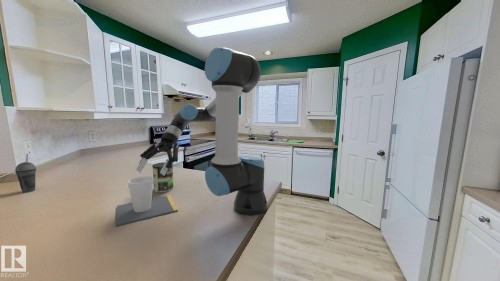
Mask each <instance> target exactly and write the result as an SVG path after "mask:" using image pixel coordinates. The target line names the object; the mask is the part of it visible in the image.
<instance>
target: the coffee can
mask: <svg viewBox="0 0 500 281" xmlns="http://www.w3.org/2000/svg"><path fill="white" fill-rule="evenodd" d="M165 162H166V161H165ZM165 162H158V163H154V164H152V177H153V183H154V184H153V192H155V193H168V192H170V191H172V190H173V189H174V188H175V186H174V170H173V169H174V167H173V166H174V162H173V163H172V165H171V167H170V168H168V170H167V172H166V174H165V176H164V175H162V174H161V173H160V171H161V169H162V168H163V166H164V164H165Z"/></svg>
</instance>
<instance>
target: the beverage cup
mask: <svg viewBox="0 0 500 281" xmlns="http://www.w3.org/2000/svg"><path fill="white" fill-rule="evenodd" d="M25 157H26V160H25V161H24V162H20V163H18V164H17V165H16V167H15V169H14V170H15V171H14V172H15V174H16V176H17V179H18V183H19V186H20V190H21V191H22V193H23V194H25V193H31V192H35V191H36V171H37V167H36V165H35V164H34V163H32V162H29V161H28V157H29V153H26V156H25Z"/></svg>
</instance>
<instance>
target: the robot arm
mask: <svg viewBox="0 0 500 281" xmlns="http://www.w3.org/2000/svg"><path fill="white" fill-rule="evenodd" d="M261 70H262V69H261V66H260V63H259V62H258V60H257V59H256V58H255V57H254V56H252V55H250V54H246V53H243V52H240V51H237V50H234V49H232V48H229V47H222V46H216V47H214V48H213V49H212V50H211V51H210V52H209V54H208V56H207V57H206V60H205V65H204V74H205V76H206V79H207V80H209V82H211V89H213V91H214V92H215V98H214V99H213V100H212V101H211V102H210V103H209V104H208V105H207V106H206V107H197V106H196V105H194V104H192V103H186V104H184V105H183V106H182V107H181V108H180V110H179V111H177V113H175V115H174V116H173V119H172V120H171V122H170V124H169V125H168V127H167V128H166V129H165V131H164V133H163V134H162V136H161V138H160V142H157V141H154V142H153V143H152V145H151V146H149V147H148V148H147V149H146V150H144V151H143V152H142V153H141V154H140V155H139V157H140V158H141V159H140V161H139V163H138V165H137V166H136V169H135V170H136V172H138V173H139V174H141V173H142V171H143V170H144V168H145V166H146V165H147V163H148V162H149V161H148V160H150V159H151V158H152V157H153V156H156V155H157V154H159V153H166V155H167V158H168V159H166V161H165V164H164V166H163V168H162V169H161V171H160V173H161V174H162V175H164V176H165V174H166V172H167V170H168V168H170V167H171V165H172V163H173V164H174V163H178V161H179V148H180V145H179V144H178V141H179V139H180V137H181V136H182V134H183V132H184V130H185V129H186V128H187V126H188V125H189V124H190V123H201V122H203V123H205V122H206V123H213V122H214V123H215V135H214V136H215V139H214V141H215V146H214V148H215V149H214V151H215V152H214V157H212V158H211V160H210V161H211V162H210V163H211V165H210V166H208V167H207V168H206V169H205V171H204V179H205V183H206V185H207V187H208V190H209V191H210V193H212V194H213V195H214V196H216V197H222V196H228V195H230V194H232V193H235V192H237V193H236V195H235V198H234V200H233V209H234V210H235V211H236V212H237V213H239V214H242V215H248V216H257V215H260V214H263V213H265V212H266V211H267V209H268V201H267V197H266V195H265V191H264V189H265V187H264V186H265V168H266V167H265V162H264V160H263V159H262V158H260V157H256V156H247V155H243V156H242V155H241V156H239V155H238V150H239V146H238V145H239V109H240V108H239V106H240V103H239V101H240V100H239V99H240V97H242V96H243V95H244V94H248V93H250V92H251V91H252V90H253V89H254V88H255V87H256V86H257V85H258V83H259V82H260V78H261V74H262V72H261ZM172 150H173V151H172Z"/></svg>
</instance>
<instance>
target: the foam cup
mask: <svg viewBox="0 0 500 281" xmlns="http://www.w3.org/2000/svg"><path fill="white" fill-rule="evenodd" d="M127 185H128V187H127V188H128V190H129V194H130V198H131V203H133V208H134V211H135V212H144V211H147V210H149V209H150V208H151V200H152V199H153V198H152V196H153V191H154V183H153V176H148V175H147V176H144V175H143V176H138V177H137V176H136V177H133V178H130V179H128V180H127Z"/></svg>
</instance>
